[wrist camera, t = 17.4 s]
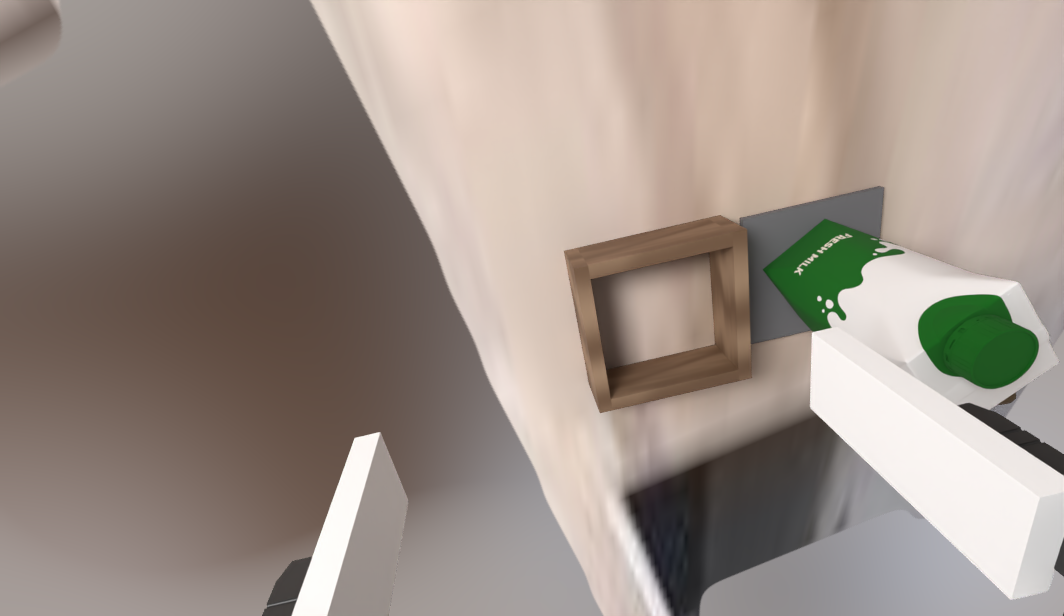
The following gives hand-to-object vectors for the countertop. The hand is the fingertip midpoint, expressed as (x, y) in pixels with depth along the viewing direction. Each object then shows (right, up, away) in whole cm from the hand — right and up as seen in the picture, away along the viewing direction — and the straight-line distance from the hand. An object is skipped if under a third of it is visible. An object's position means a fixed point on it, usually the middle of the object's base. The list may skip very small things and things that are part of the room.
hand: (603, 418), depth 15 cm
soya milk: (+24, +7, +33) cm, 41 cm away
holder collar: (+9, +4, +33) cm, 34 cm away
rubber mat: (+24, +7, +33) cm, 42 cm away
